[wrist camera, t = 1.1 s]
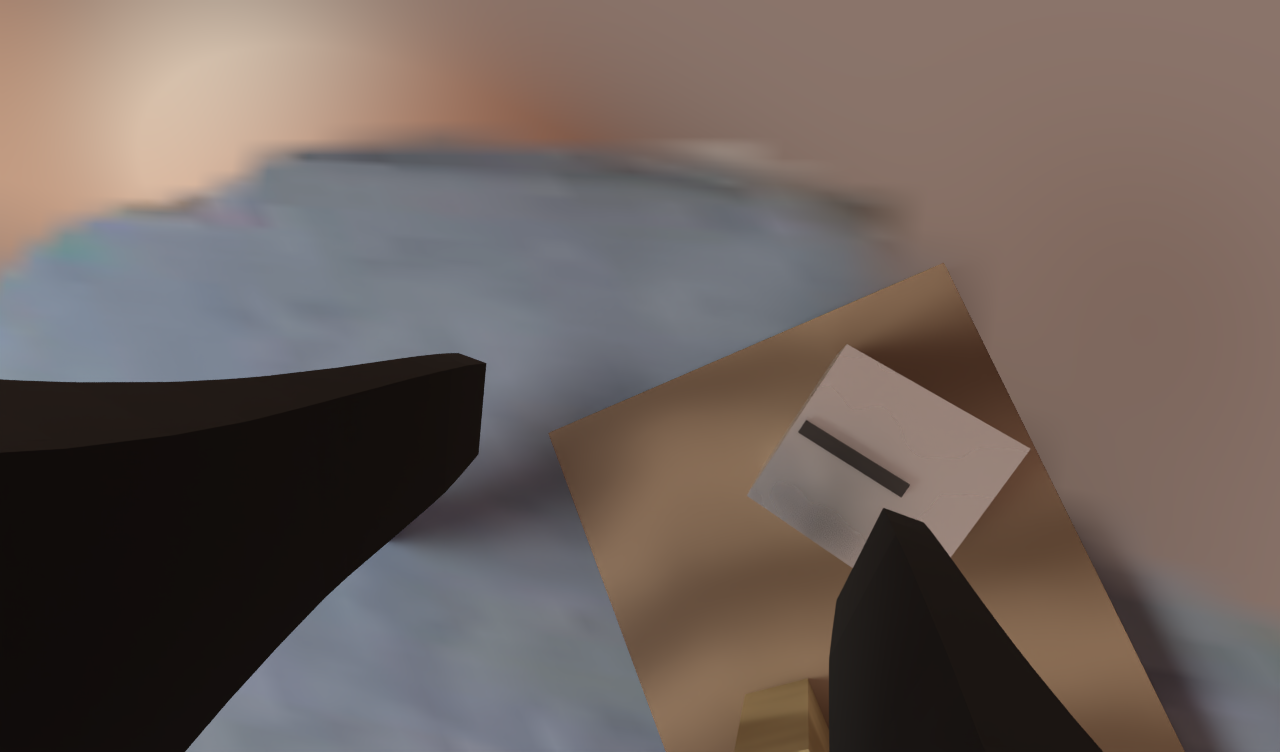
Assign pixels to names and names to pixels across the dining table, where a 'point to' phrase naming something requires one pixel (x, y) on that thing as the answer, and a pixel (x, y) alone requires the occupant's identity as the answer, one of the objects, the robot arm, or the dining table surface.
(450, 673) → the dining table surface
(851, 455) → the beige cube
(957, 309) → the board
